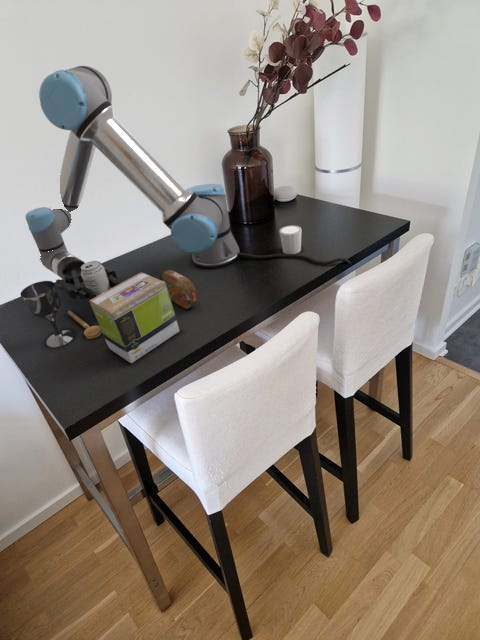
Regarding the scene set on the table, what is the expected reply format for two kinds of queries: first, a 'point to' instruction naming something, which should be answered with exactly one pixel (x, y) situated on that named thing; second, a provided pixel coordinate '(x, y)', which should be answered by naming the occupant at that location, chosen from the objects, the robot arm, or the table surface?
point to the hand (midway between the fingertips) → (107, 293)
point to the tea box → (135, 316)
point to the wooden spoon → (87, 327)
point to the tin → (179, 289)
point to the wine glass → (46, 309)
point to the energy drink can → (95, 277)
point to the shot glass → (291, 239)
